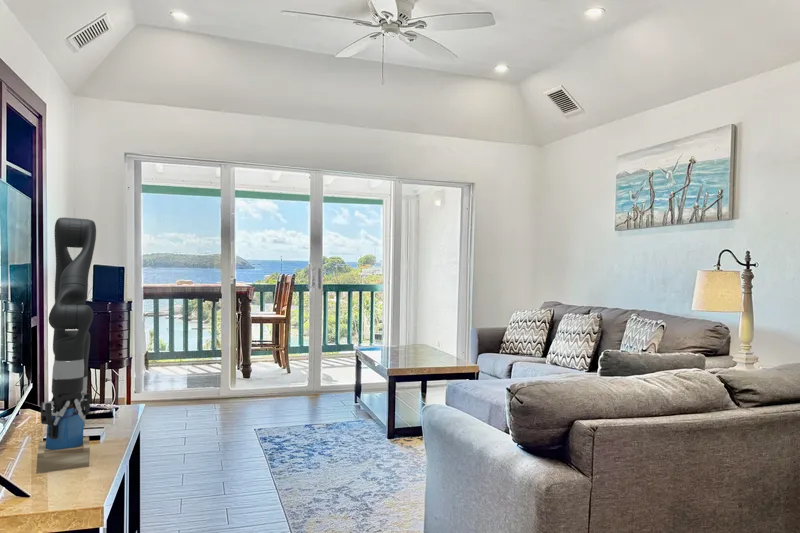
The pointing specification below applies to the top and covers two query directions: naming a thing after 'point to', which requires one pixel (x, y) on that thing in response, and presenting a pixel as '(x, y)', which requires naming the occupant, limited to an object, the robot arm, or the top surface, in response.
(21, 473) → the top surface
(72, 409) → the perfume bottle
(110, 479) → the top surface
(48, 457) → the square tray
